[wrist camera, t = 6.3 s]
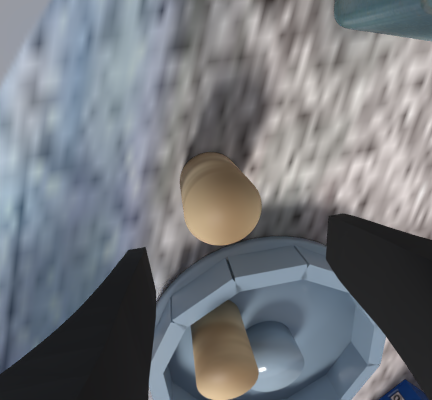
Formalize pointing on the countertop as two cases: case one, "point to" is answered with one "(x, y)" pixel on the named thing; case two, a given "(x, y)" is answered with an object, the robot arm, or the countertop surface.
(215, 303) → the ring tray
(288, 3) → the countertop surface
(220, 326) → the bead
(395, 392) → the pasta box
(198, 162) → the bead
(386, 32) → the flower pot
